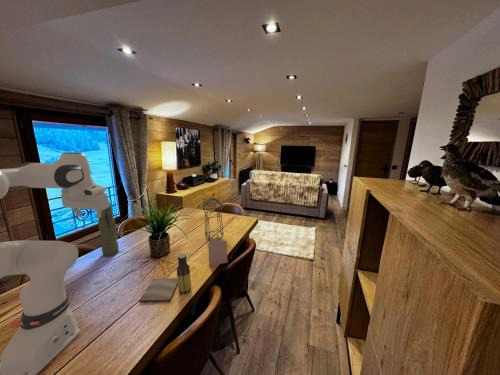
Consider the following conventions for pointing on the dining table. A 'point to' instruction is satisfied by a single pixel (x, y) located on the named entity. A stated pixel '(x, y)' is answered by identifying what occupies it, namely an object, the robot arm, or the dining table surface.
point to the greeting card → (217, 251)
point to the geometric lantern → (212, 217)
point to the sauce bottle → (183, 275)
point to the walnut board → (160, 290)
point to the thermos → (108, 232)
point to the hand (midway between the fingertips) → (89, 216)
